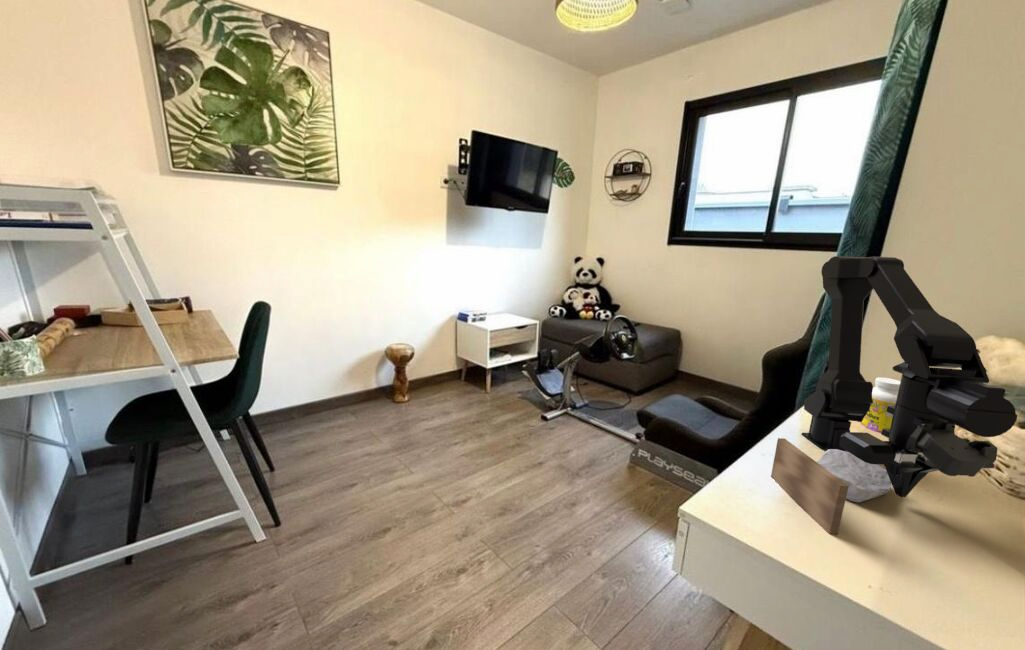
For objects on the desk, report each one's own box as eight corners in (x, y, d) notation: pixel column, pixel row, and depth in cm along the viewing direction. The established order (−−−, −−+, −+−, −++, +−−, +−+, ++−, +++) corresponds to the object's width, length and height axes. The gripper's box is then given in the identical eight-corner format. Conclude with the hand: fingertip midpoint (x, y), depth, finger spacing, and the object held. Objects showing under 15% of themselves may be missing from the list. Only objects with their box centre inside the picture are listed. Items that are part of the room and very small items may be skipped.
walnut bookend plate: (770, 478, 72) (777, 438, 70) (777, 478, 72) (784, 438, 70) (829, 534, 58) (840, 485, 56) (837, 534, 58) (848, 485, 56)
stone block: (887, 494, 70) (823, 460, 78) (900, 473, 69) (833, 440, 76) (869, 523, 64) (800, 482, 71) (882, 501, 62) (811, 461, 69)
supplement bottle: (851, 425, 95) (862, 374, 93) (881, 427, 95) (893, 376, 92) (872, 438, 89) (884, 384, 86) (904, 441, 88) (918, 386, 85)
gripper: (911, 429, 54) (887, 528, 57) (1048, 432, 54) (1017, 532, 57) (845, 398, 65) (828, 483, 68) (959, 401, 65) (937, 486, 68)
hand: (899, 495), depth 65 cm, fingers closed
